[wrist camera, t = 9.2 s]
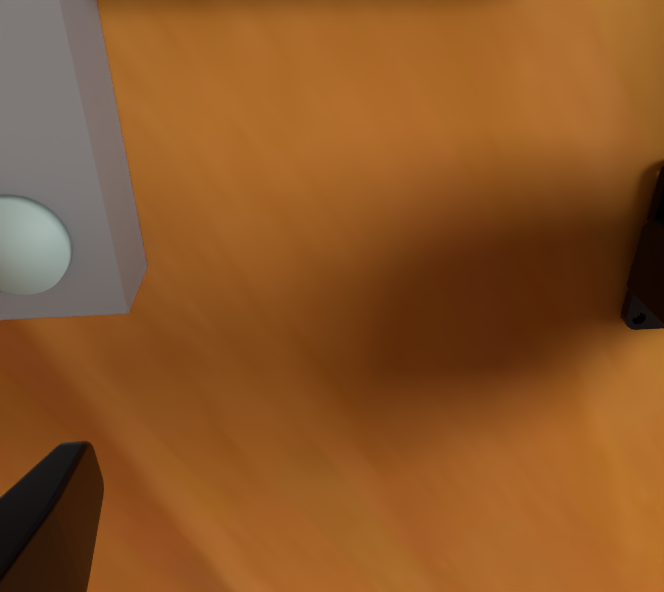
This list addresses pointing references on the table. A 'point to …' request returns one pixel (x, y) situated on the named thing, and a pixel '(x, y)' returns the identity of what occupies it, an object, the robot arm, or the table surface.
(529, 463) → the table surface
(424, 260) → the table surface
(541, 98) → the table surface
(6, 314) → the panel
